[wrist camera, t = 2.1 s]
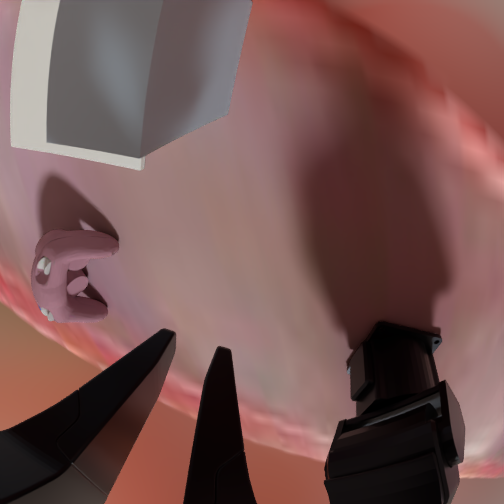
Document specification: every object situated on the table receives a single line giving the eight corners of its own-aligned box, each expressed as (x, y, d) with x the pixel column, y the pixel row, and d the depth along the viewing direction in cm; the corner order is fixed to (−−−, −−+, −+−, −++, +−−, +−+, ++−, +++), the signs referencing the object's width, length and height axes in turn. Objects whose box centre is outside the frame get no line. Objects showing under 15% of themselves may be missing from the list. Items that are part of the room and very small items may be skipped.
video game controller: (98, 209, 24) (23, 228, 18) (125, 242, 22) (43, 269, 17) (88, 287, 29) (30, 310, 24) (111, 319, 28) (51, 347, 22)
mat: (186, -62, 11) (183, -64, 10) (144, 168, 19) (140, 170, 19) (33, -29, 11) (29, -30, 11) (15, 145, 20) (11, 146, 20)
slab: (252, 2, 13) (182, -68, 5) (227, 114, 17) (139, 158, 8) (181, -3, 13) (67, -46, 5) (161, 103, 17) (42, 142, 9)
